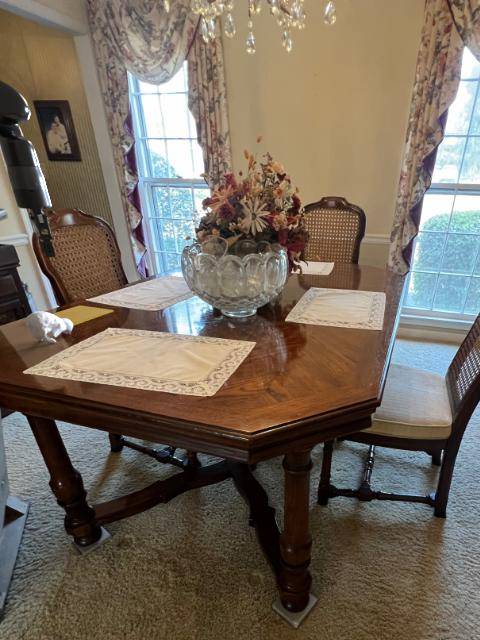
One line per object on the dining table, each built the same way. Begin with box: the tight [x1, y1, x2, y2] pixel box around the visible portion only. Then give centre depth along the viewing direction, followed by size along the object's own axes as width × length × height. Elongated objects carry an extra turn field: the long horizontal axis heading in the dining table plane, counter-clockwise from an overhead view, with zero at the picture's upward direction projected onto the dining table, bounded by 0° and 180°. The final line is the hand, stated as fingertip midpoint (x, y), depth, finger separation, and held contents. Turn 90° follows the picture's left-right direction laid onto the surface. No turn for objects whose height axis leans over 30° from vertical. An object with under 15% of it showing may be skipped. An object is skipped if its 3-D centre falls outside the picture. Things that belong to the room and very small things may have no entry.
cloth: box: [52, 305, 115, 327], centre depth 127 cm, size 20×16×1 cm
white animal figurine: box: [25, 310, 74, 344], centre depth 108 cm, size 6×8×12 cm
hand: (49, 254), depth 104 cm, fingers open, 8 cm apart
